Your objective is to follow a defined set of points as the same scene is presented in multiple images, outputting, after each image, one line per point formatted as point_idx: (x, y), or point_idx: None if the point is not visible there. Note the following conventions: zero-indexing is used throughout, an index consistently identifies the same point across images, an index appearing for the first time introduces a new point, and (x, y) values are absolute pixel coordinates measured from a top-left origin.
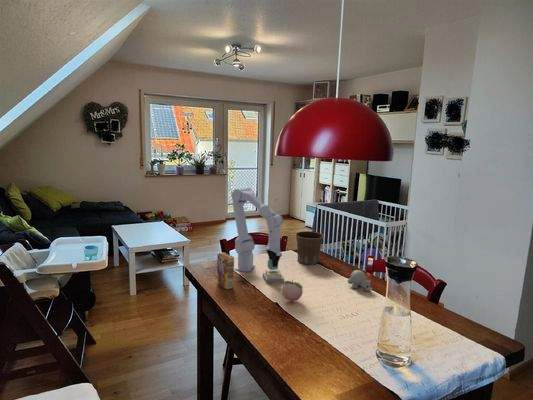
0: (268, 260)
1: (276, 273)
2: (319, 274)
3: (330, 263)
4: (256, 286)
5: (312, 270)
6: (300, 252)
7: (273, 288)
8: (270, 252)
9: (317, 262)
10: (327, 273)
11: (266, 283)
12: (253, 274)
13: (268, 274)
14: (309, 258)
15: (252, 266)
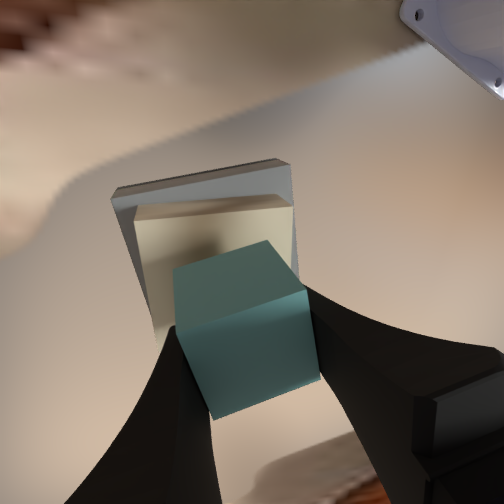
0: (277, 295)
1: (168, 311)
2: (282, 474)
3: None
4: (21, 74)
5: (336, 444)
6: None
7: (13, 248)
8: (387, 419)
9: None
10: (291, 498)
11: (121, 188)
12: (332, 69)
13: (137, 233)
14: None
15: (487, 73)
